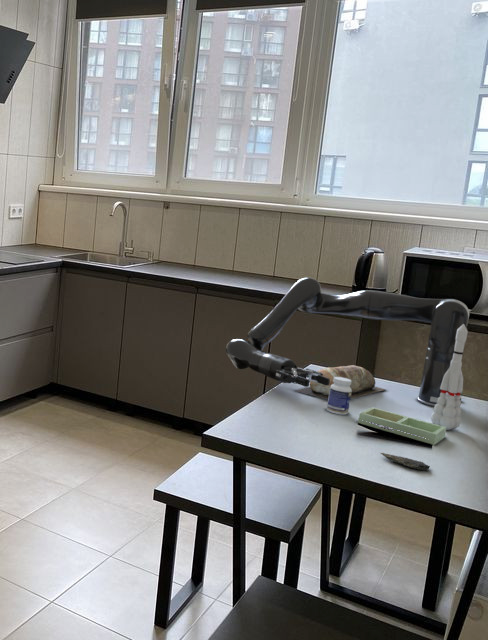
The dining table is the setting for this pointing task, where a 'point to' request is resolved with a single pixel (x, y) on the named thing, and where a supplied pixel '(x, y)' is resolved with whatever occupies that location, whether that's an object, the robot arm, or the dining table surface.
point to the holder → (403, 425)
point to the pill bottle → (339, 396)
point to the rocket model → (451, 388)
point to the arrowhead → (407, 462)
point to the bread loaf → (359, 378)
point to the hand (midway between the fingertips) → (318, 383)
